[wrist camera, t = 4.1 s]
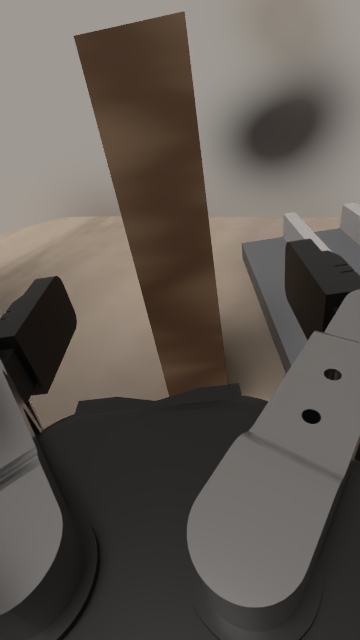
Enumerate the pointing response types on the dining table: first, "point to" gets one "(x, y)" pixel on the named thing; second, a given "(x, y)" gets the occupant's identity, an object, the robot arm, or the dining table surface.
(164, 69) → the brown wooden block
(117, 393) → the dining table surface
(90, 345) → the dining table surface
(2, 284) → the dining table surface
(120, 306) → the dining table surface
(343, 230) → the track plinth
